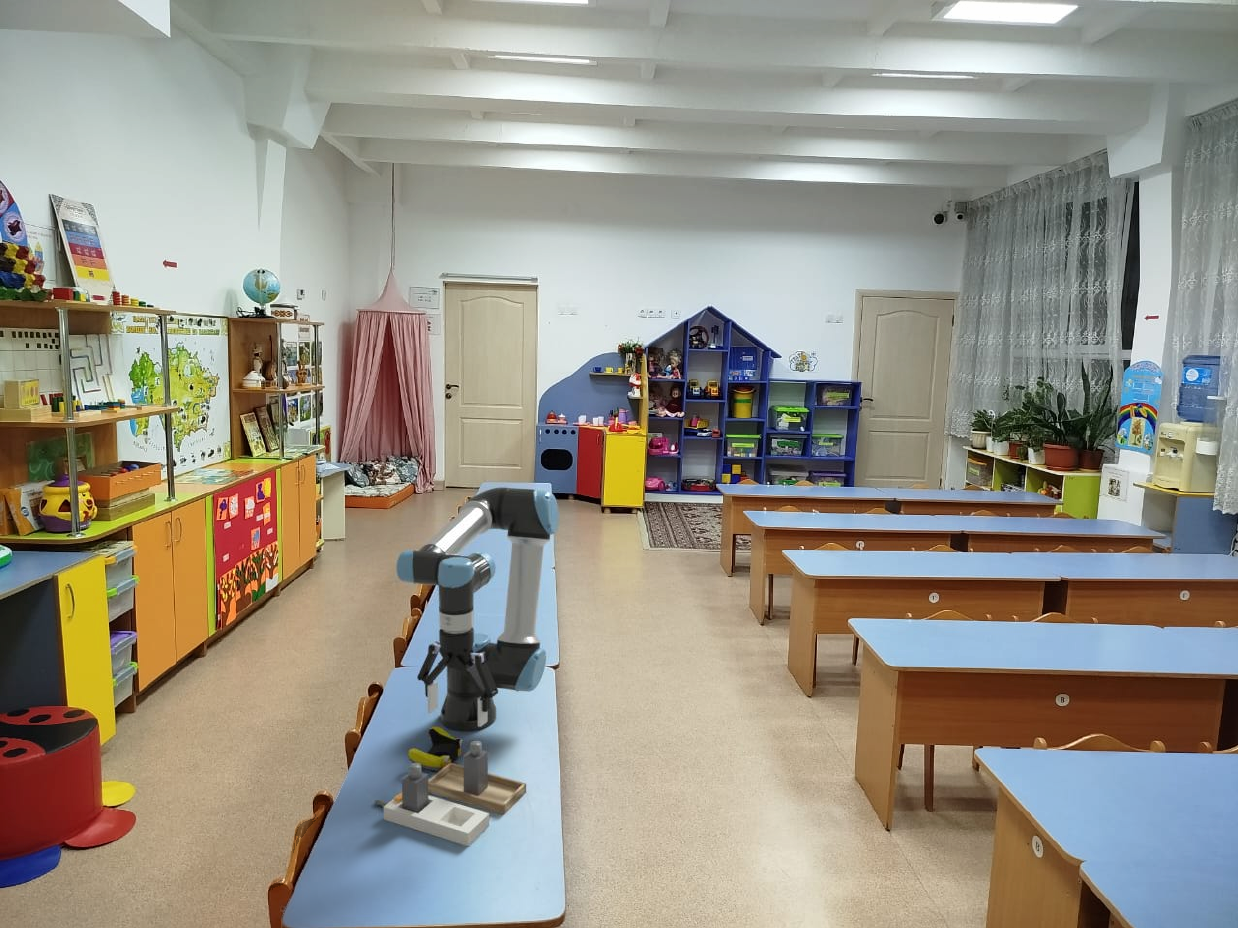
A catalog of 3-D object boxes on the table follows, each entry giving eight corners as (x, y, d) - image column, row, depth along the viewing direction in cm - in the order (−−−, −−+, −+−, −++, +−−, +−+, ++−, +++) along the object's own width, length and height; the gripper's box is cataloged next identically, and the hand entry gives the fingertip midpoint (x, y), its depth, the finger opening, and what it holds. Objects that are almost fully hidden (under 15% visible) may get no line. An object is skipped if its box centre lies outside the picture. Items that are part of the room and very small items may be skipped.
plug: (473, 783, 196) (473, 737, 195) (487, 787, 195) (487, 741, 193) (463, 791, 193) (463, 745, 191) (478, 795, 191) (478, 749, 189)
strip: (387, 794, 192) (386, 779, 191) (489, 825, 181) (489, 809, 180) (363, 812, 185) (363, 796, 184) (468, 846, 174) (468, 829, 173)
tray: (450, 770, 203) (450, 762, 202) (526, 792, 194) (526, 783, 194) (425, 791, 194) (425, 782, 193) (503, 814, 185) (503, 805, 185)
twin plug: (413, 806, 186) (413, 759, 184) (428, 811, 185) (428, 763, 183) (402, 816, 183) (401, 768, 181) (417, 821, 181) (416, 772, 179)
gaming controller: (404, 772, 202) (443, 778, 200) (404, 751, 201) (443, 757, 199) (432, 742, 216) (468, 748, 214) (432, 723, 215) (468, 728, 213)
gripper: (400, 623, 186) (402, 711, 189) (494, 644, 175) (494, 737, 179) (421, 612, 192) (423, 698, 196) (513, 632, 182) (513, 722, 186)
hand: (457, 717), depth 188 cm, fingers open, 13 cm apart
